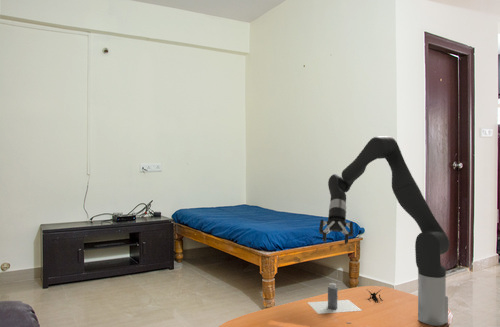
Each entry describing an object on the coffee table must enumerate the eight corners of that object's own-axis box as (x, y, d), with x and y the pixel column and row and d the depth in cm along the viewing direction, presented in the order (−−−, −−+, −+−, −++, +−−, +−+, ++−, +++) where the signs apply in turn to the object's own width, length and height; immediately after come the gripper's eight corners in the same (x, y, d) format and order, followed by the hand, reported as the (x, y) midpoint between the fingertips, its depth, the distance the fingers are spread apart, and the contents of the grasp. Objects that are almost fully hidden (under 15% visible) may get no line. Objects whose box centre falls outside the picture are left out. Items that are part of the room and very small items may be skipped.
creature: (387, 309, 156) (382, 298, 163) (387, 297, 154) (383, 287, 162) (367, 308, 156) (363, 297, 164) (367, 296, 155) (364, 286, 163)
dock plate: (348, 302, 160) (348, 299, 160) (362, 313, 148) (362, 310, 148) (307, 305, 156) (307, 302, 156) (318, 316, 144) (318, 313, 144)
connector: (328, 304, 154) (328, 281, 154) (337, 305, 153) (338, 282, 153) (327, 309, 149) (327, 285, 149) (336, 310, 148) (336, 286, 148)
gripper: (321, 205, 171) (317, 236, 161) (353, 207, 168) (352, 239, 157) (321, 215, 177) (318, 245, 166) (353, 217, 173) (352, 248, 162)
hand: (335, 242), depth 162 cm, fingers open, 8 cm apart
